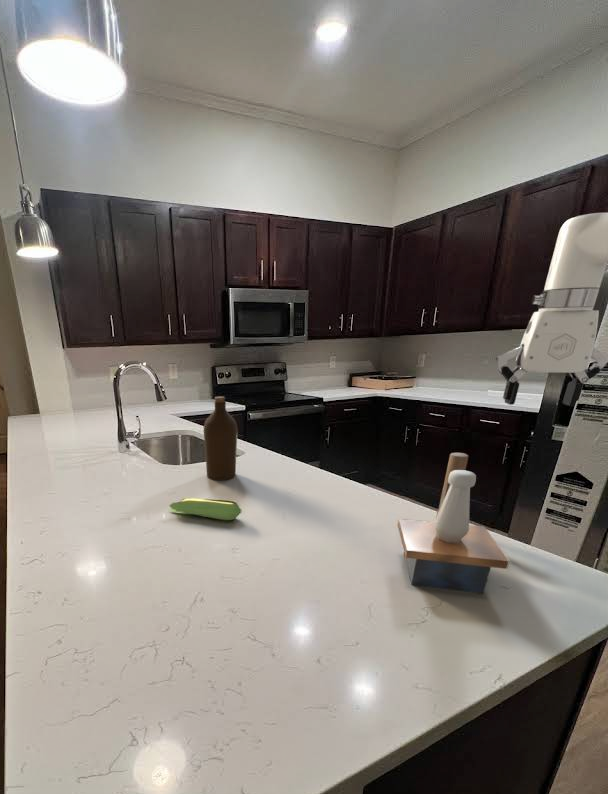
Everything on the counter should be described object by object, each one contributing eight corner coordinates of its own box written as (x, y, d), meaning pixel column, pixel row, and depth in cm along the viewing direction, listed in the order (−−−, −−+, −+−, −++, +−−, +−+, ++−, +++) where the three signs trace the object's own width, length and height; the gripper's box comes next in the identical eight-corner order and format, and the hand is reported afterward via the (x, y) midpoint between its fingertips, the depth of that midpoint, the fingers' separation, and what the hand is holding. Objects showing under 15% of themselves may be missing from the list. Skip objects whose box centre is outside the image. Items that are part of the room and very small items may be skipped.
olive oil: (212, 482, 130) (210, 400, 120) (200, 473, 139) (197, 396, 129) (243, 477, 134) (243, 398, 124) (229, 468, 143) (228, 393, 133)
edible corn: (238, 524, 102) (238, 507, 100) (164, 514, 108) (163, 498, 106) (244, 516, 107) (244, 500, 105) (172, 507, 113) (171, 491, 111)
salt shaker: (452, 529, 81) (467, 465, 76) (473, 543, 76) (490, 475, 71) (425, 532, 81) (438, 467, 75) (444, 546, 75) (459, 478, 70)
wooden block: (434, 542, 93) (451, 464, 85) (434, 523, 102) (449, 451, 94) (453, 545, 91) (471, 466, 84) (451, 525, 100) (468, 452, 93)
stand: (475, 559, 86) (484, 526, 83) (497, 598, 73) (508, 561, 70) (392, 550, 90) (398, 518, 87) (400, 586, 77) (407, 550, 74)
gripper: (517, 302, 70) (492, 406, 77) (641, 299, 66) (603, 409, 73) (502, 304, 77) (481, 399, 84) (614, 302, 73) (582, 402, 79)
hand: (538, 404), depth 78 cm, fingers open, 9 cm apart
